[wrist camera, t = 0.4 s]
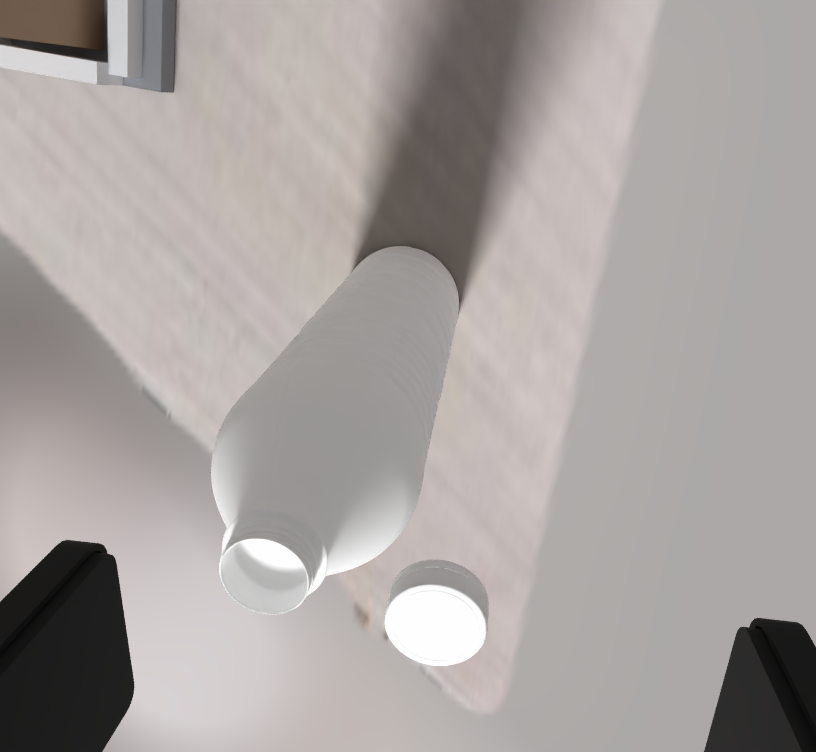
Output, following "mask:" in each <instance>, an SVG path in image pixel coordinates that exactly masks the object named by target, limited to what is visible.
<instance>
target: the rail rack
mask: <svg viewBox="0 0 816 752" xmlns="http://www.w3.org/2000/svg"><path fill="white" fill-rule="evenodd" d="M175 20H176V0H0V67H2V68H8V69H14V70H19V71H25V72H30V73H36V74H42V75H47V76H53V77H58V78H64V79H70V80H75V81H81V82H86V83H92V84H99V85H123V86H129V87H135V88H140V89H146V90H151V91H157V92H174V57H175Z"/></svg>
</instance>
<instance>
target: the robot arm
mask: <svg viewBox="0 0 816 752" xmlns="http://www.w3.org/2000/svg"><path fill="white" fill-rule="evenodd" d="M133 693H134V679H133V672H132V666H131V660H130V652H129V645H128V638H127V632H126V625H125V618H124V611H123V605H122V598H121V591H120V584H119V577H118V571H117V564H116V560H115V558H114V556H113V555H110V554H107V550H106V548H105V547H104V546H103V545H102V544H99V543H90V542H81V541H71V540H65V541H62V542H61V543H59V544H58V545H57V546H56V547H55V548H54V549H53V550H52V551H51V552H50V553H49V554H48V555H47V556H46V557H45V558H44V559H43V560H42V561H41V562H40V563H39V564H38V565H37V566H36V567H35V568H34V569H33V570H32V571H31V572H30V573H29V574H28V575H27V576H26V577H25V578H24V579H23V580H22V581H21V582H20V583H19V584H18V585H17V586H16V587H15V588H14V589H13V590H12V591H11V592H10V593H9V594H8V595H7V596H6V597H5V598H4V599H3V600H2V601H1V602H0V752H102V751H103V749H104V748H105V746H106V744H107V743H108V741H109V740H110V738H111V736H112V735H113V733H114V731H115V730H116V728H117V727H118V725H119V723H120V722H121V720H122V718H123V717H124V715H125V714H126V712H127V710H128V708H129V706H130V704H131V701H132V698H133ZM704 752H816V647H815V645H814V643H813V641H812V640H811V638H810V636H809V634H808V633H807V631H806V629H805V628H804V627H803V626H802V625H801V624H799V623H797V622H788V621H780V620H771V619H762V618H756V619H754V620H753V621H752V622H751V624H750V627H749V628H748V627H740V628H739V629H738V631H737V634H736V637H735V641H734V645H733V648H732V652H731V655H730V659H729V663H728V666H727V670H726V674H725V677H724V681H723V685H722V689H721V692H720V696H719V699H718V703H717V707H716V710H715V714H714V718H713V721H712V725H711V729H710V732H709V736H708V740H707V743H706V747H705V751H704Z"/></svg>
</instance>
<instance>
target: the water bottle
mask: <svg viewBox="0 0 816 752" xmlns="http://www.w3.org/2000/svg"><path fill="white" fill-rule="evenodd" d="M458 312H459V296H458V291H457V287H456V284H455V282H454V279H453V277H452V276H451V274H450V272H449V271H448V270H447V269H446V268H445V267H444V265H443V264H442V263H441V262H440V261H439V260H438V259H437V258H435V257H434V256H432V255H431V254H429V253H427V252H425V251H423V250H420V249H416V248H412V247H408V246H393V247H387V248H384V249H381V250H379V251H376V252H374V253H372V254H370V255H369V256H367V257H366V258H365V259H364V260H363V261H361V262H360V263H359V264H358V266H357V267H356V268H355V269H354V270H353V271H352V272H351V274H350V275H349V276H348V277H347V278H346V279H345V281H344V282H343V283H342V284H341V285H340V286H339V287H338V288H337V290H336V291H335V292H334V293H333V294H332V295H331V296H330V297H329V299H328V300H327V301H326V302H325V303H324V304H323V305H322V307H321V308H320V309H319V310H318V311H317V312H316V314H315V315H314V316H313V317H312V318H311V319H310V320H309V321H308V322H307V323H306V324H305V326H304V327H303V328H302V330H301V331H300V332H299V334H298V335H297V336H296V337H295V338H294V339H293V341H292V342H291V343H290V344H289V345H288V346H287V347H286V348H285V350H284V351H283V352H282V353H281V354H280V355H279V356H278V357H277V359H276V360H275V361H274V362H273V363H272V364H271V365H270V366H269V368H268V369H267V370H266V371H265V372H264V373H263V374H262V376H261V377H260V378H259V379H258V380H257V381H256V382H255V383H254V384H253V385H252V386H251V387H250V388H249V389H248V390H247V391H246V392H245V393H244V394H243V395H242V396H241V398H240V399H239V400H238V401H237V402H236V404H235V405H234V406H233V407H232V409H231V410H230V412H229V413H228V415H227V416H226V418H225V420H224V422H223V424H222V426H221V428H220V430H219V433H218V436H217V439H216V442H215V446H214V450H213V456H212V465H211V479H212V488H213V493H214V497H215V500H216V503H217V506H218V509H219V511H220V514H221V516H222V518H223V521H224V523H225V525H226V527H227V530H226V531H225V534H224V537H223V541H222V554H221V557H220V561H219V573H220V578H221V581H222V584H223V586H224V588H225V589H226V591H227V592H228V594H229V595H230V596H231V597H232V598H233V599H234V600H235V601H236V602H238V603H239V604H241V605H242V606H244V607H246V608H247V609H249V610H252V611H255V612H258V613H263V614H281V613H285V612H288V611H291V610H293V609H295V608H296V607H298V606H299V605H300V604H301V603H302V602H303V600H304V599H305V597H306V596H307V595H308V594H310V593H312V592H313V591H314V590H316V589H317V588H318V587H319V585H320V584H321V583H322V581H323V580H324V578H325V576H326V575H331V574H335V573H339V572H343V571H347V570H350V569H353V568H355V567H358V566H360V565H362V564H364V563H366V562H368V561H370V560H372V559H373V558H375V557H376V556H378V555H379V554H380V553H381V552H383V551H384V550H385V549H386V548H387V547H388V546H389V545H390V544H391V543H392V542H393V541H394V540H395V539H396V538H397V537H398V536H399V534H400V533H401V532H402V530H403V529H404V528H405V526H406V525H407V523H408V521H409V520H410V518H411V516H412V514H413V512H414V509H415V507H416V504H417V501H418V498H419V494H420V491H421V486H422V481H423V475H424V467H425V462H426V458H427V452H428V448H429V443H430V439H431V434H432V429H433V425H434V420H435V416H436V411H437V407H438V402H439V399H440V396H441V392H442V387H443V381H444V377H445V373H446V368H447V363H448V359H449V353H450V349H451V345H452V339H453V335H454V331H455V326H456V323H457V317H458ZM427 567H431V568H427ZM435 567H439V568H435ZM445 568H447V569H445ZM417 569H418V570H417ZM449 569H451V570H449ZM453 570H454V571H453ZM458 572H459V573H458ZM467 577H468V578H467ZM384 618H385V619H384V621H385V622H384V623H385V629H386V632H387V634H388V636H389V638H390V640H391V641H392V643H393V644H394V645H395V647H396V648H397V649H398V650H399V651H401V652H402V653H403V654H404V655H406V656H407V657H409V658H411V659H413V660H415V661H418V662H420V663H424V664H428V665H434V666H447V665H453V664H457V663H460V662H463V661H465V660H467V659H469V658H470V657H472V656H473V655H474V654H475V653H477V651H479V649H480V648H481V646H482V645H483V644H484V642H485V638H486V636H487V630H488V596H487V593H486V590H485V588H484V586H483V584H482V583H481V581H480V580H479V579H478V578H477V577H476V576H475V575H474V574H473V573H472V572H471V571H469V570H468V569H466V568H465V567H463V566H461V565H458V564H456V563H453V562H449V561H444V560H425V561H420V562H417V563H414V564H412V565H410V566H408V567H407V568H405V569H404V570H402V571H401V572H400V573H399V574H398V575H397V577H396V578H395V580H394V581H393V583H392V586H391V589H390V593H389V596H388V602H387V607H386V611H385V616H384Z"/></svg>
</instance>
